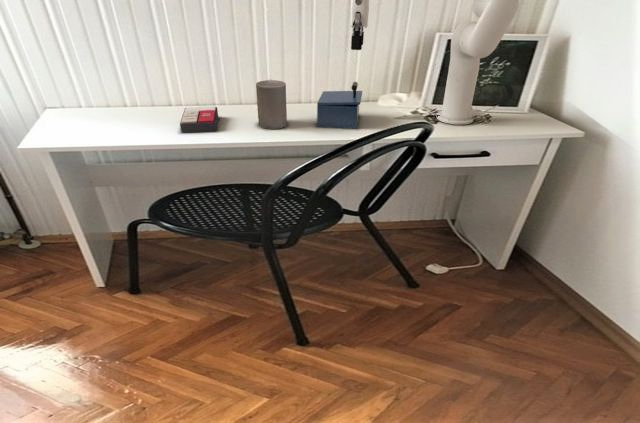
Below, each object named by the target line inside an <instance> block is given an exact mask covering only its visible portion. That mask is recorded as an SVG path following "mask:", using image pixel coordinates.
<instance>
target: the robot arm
mask: <svg viewBox="0 0 640 423" xmlns="http://www.w3.org/2000/svg"><path fill="white" fill-rule="evenodd" d="M519 5H520V0H474V1H473V4H472V11H473V14H474V15H475V17H477V18H478V20H477V21H473V20H467V21H463V22H462V23H460V24H459V25H457V27H456V28H455V29H454V30H453V32H452V35H451V39H450V57H449V65H448V72H447V78H446V84H445V89H444V96H443V101H442V107H441V111H440V112H437V113H436V119H437V120H438V121H440V122H441V123H445V124H449V125H458V126H461V125H462V126H463V125H469V124H472V123H473V122H474V119H475V117H482V118H484V117H485V114H486V110H481V109H473V107H472V106H473V100H474V97H475V96H474V95H475V91H476V85H477V81H478V75H479V72H480V65H481V64H480V63H481V59H484V58H487V57H488V56H490V55H491V54H492V53H493V52H494V51H495V50H496V48H498V46H499V44H500V42H501V41H502V39H503V37H504V36H505V34H506V33H507V31H508V28H510V25H511V24H512V22H513V20H514V18H515V17H516V15H517V12H518V10H519ZM369 9H370V0H350V27H351V28H352V32H351V40H350V42H351V44H350V50H351V51H362V49H363V45H364V39H365V38H364V37H365V32H364V29H367V28H368V25H369V12H370V10H369ZM437 115H440V116H438V117H437Z"/></svg>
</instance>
